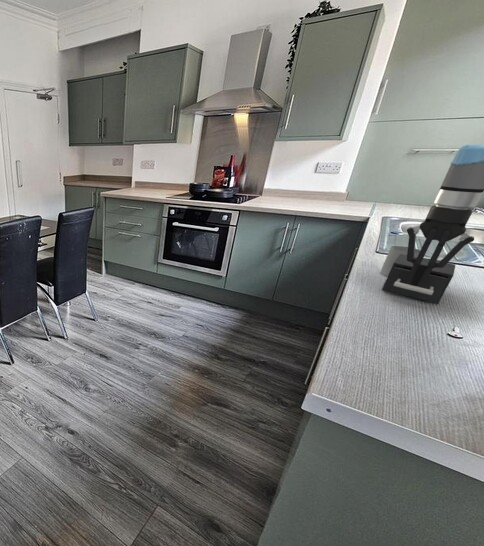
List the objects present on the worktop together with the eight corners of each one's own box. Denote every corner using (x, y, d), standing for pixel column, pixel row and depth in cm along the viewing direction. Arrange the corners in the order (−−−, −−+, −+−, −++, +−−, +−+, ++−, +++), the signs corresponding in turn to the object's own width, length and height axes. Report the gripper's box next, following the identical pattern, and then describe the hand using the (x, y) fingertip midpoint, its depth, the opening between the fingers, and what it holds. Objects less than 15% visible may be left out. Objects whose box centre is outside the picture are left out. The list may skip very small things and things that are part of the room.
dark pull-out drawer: (434, 309, 88) (447, 284, 85) (380, 295, 96) (391, 272, 93) (438, 291, 99) (450, 269, 96) (390, 280, 107) (400, 258, 104)
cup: (408, 282, 108) (421, 255, 104) (377, 274, 114) (388, 248, 110) (413, 276, 112) (426, 250, 108) (383, 269, 118) (394, 244, 115)
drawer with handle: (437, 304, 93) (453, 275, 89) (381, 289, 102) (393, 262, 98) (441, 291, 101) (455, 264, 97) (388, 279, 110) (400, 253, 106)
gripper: (490, 209, 81) (446, 290, 90) (419, 201, 90) (385, 276, 99) (491, 212, 76) (444, 297, 85) (416, 204, 85) (381, 282, 95)
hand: (413, 286), depth 92 cm, fingers closed
